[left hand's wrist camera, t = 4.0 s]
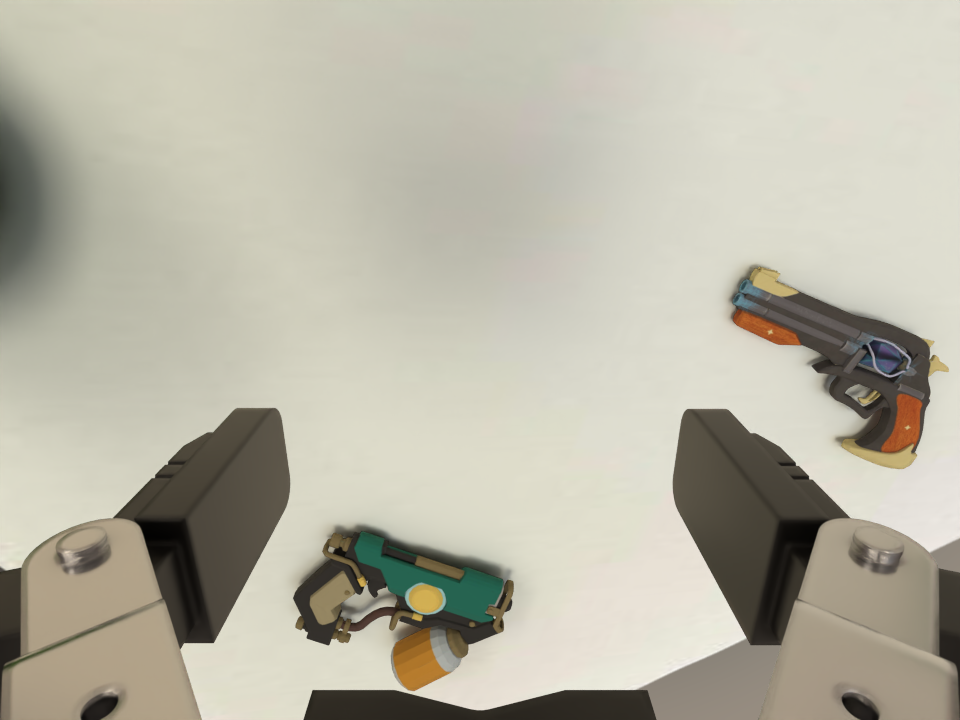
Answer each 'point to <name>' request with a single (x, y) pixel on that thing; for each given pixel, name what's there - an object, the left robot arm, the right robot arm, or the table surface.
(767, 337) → the toy gun
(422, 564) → the spray gun
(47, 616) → the left robot arm
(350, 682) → the table surface
